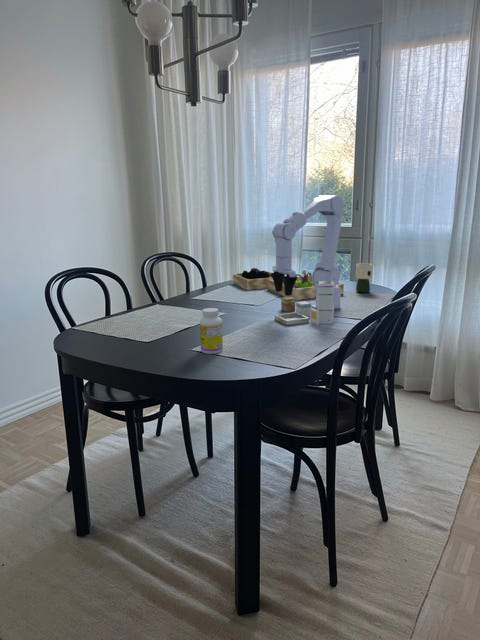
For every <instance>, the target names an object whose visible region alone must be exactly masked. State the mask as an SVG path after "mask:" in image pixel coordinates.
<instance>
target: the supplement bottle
mask: <svg viewBox="0 0 480 640" xmlns="http://www.w3.org/2000/svg"><path fill="white" fill-rule="evenodd" d="M219 313H220V312H219V309H218V308H217V307H216V308H215V307H207V308H203V309H202V315H203V316H202V317H201V318H200V320H199V333H200V335H199V339H200V340H199V341H200V351H201V352H202V353H204V354H207V355H214V353H216V354H218V353H221V352H222V351H223V349H224V348H223V347H224V346H223V345H224V343H223V341H224V340H223V339H224V338H223V320H222V318H221V317H220V316H219Z"/></svg>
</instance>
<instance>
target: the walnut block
mask: <svg viewBox="0 0 480 640" xmlns="http://www.w3.org/2000/svg"><path fill="white" fill-rule="evenodd" d="M280 302H281V303H280V304H281V305H280V306H281V309H280V310H281V311H283V312H285V313H291V312H296V300H295V298H292V297H284V296H283V297H281V300H280Z"/></svg>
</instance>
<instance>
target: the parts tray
mask: <svg viewBox="0 0 480 640" xmlns="http://www.w3.org/2000/svg"><path fill="white" fill-rule="evenodd" d="M274 320H275V321H277V322H278V323H280V324H282V325H284V326H287V327H288V326H294V325H302V324H310V317H309V316H307V317H306V316H304V315H302V314H300V313H297V312H296V311H294V312H286V313H280V314H275V315H274Z"/></svg>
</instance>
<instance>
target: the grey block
mask: <svg viewBox="0 0 480 640" xmlns="http://www.w3.org/2000/svg"><path fill="white" fill-rule="evenodd" d="M311 305H312V303H311V302H308V301H306V300H304V301H295V312H297V313H300V314H302V315H304V316H306V317H310V310H311V308H312V307H311Z"/></svg>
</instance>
